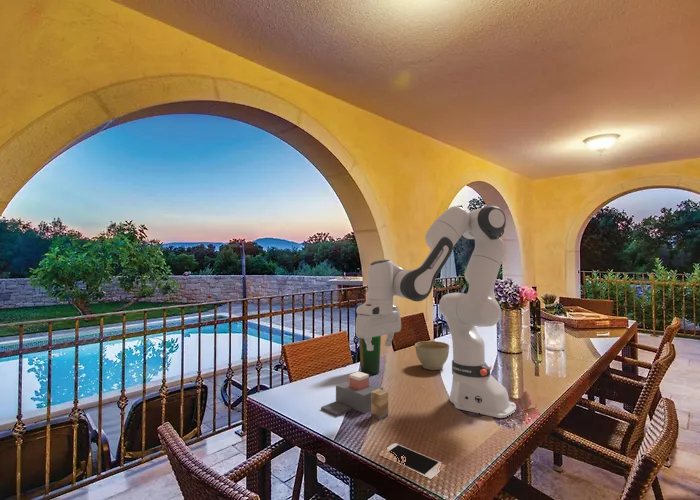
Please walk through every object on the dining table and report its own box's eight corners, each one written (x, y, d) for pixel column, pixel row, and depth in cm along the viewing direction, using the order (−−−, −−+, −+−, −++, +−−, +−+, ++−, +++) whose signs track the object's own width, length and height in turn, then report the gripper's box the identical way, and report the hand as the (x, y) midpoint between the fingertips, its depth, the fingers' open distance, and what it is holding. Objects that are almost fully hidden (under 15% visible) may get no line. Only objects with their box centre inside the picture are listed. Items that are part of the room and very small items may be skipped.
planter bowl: (446, 362, 175) (446, 340, 175) (452, 373, 159) (452, 349, 159) (413, 362, 176) (413, 340, 177) (416, 372, 160) (416, 348, 161)
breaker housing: (383, 404, 125) (382, 387, 125) (364, 413, 118) (364, 395, 118) (354, 394, 135) (354, 378, 135) (335, 402, 127) (335, 385, 128)
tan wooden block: (388, 416, 116) (388, 391, 116) (380, 420, 113) (380, 395, 113) (378, 412, 118) (378, 388, 119) (371, 416, 116) (371, 391, 116)
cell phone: (431, 481, 82) (431, 479, 82) (377, 456, 93) (377, 453, 93) (447, 467, 88) (447, 464, 88) (394, 444, 98) (394, 442, 99)
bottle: (369, 367, 168) (368, 309, 169) (386, 372, 161) (385, 311, 162) (353, 372, 161) (353, 311, 162) (370, 377, 153) (370, 313, 154)
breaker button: (368, 388, 126) (368, 374, 126) (359, 392, 123) (359, 377, 123) (358, 384, 130) (358, 371, 130) (349, 388, 126) (349, 374, 126)
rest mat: (351, 410, 120) (351, 407, 120) (337, 416, 115) (337, 414, 115) (335, 403, 126) (335, 401, 126) (321, 409, 121) (321, 407, 121)
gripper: (391, 304, 129) (391, 342, 128) (352, 308, 114) (351, 351, 114) (405, 306, 124) (405, 345, 124) (367, 310, 110) (366, 355, 109)
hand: (379, 348), depth 118 cm, fingers open, 8 cm apart
